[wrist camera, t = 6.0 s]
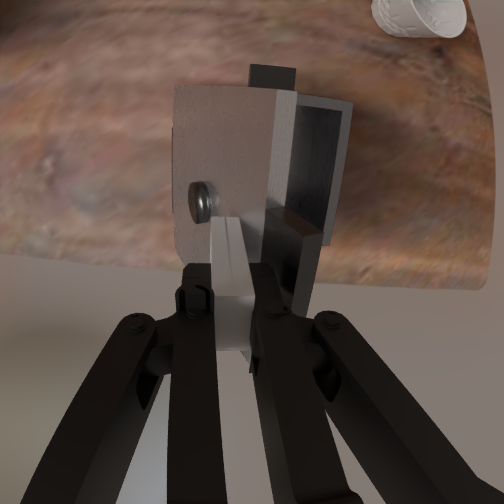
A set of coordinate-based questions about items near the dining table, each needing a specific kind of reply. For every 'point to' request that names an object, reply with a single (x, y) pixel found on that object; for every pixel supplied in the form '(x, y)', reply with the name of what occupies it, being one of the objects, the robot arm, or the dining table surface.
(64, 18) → the dining table surface
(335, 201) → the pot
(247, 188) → the lid
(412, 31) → the white cup
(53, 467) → the robot arm
